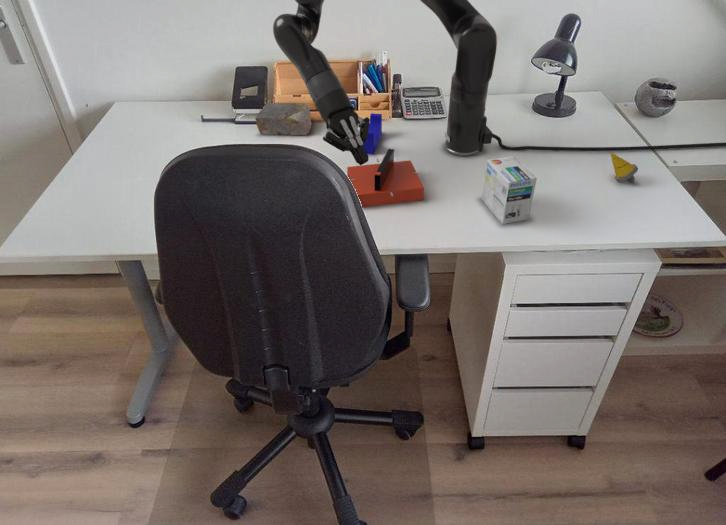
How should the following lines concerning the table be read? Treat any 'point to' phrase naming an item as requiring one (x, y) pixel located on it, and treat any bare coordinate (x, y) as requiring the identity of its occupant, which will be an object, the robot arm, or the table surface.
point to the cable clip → (373, 133)
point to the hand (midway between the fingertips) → (364, 162)
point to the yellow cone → (623, 169)
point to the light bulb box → (508, 189)
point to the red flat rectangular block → (387, 184)
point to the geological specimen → (284, 119)
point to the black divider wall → (384, 169)
